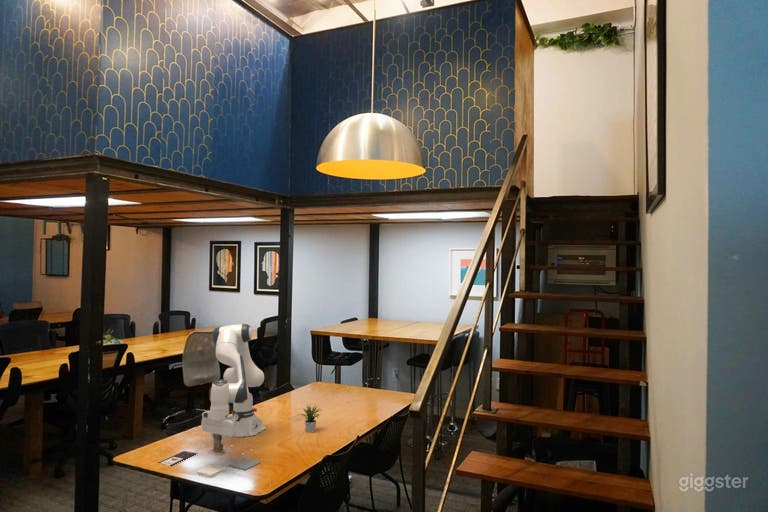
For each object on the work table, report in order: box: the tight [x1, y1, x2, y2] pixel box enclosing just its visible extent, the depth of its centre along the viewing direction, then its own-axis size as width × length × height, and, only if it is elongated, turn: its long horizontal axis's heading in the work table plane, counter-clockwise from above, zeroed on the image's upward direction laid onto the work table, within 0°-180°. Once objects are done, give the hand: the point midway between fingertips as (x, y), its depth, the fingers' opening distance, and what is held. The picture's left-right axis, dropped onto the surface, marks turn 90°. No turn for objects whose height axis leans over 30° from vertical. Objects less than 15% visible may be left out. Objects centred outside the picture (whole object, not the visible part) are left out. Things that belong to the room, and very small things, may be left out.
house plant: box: [300, 403, 323, 433], centre depth 298 cm, size 14×14×16 cm
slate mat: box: [228, 458, 261, 471], centre depth 244 cm, size 11×11×1 cm
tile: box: [196, 464, 227, 479], centre depth 234 cm, size 2×9×10 cm
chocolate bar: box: [157, 450, 199, 467], centre depth 251 cm, size 9×1×18 cm
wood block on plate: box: [207, 434, 230, 457], centre depth 238 cm, size 6×8×13 cm
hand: (218, 442), depth 238 cm, fingers closed on wood block on plate, 3 cm apart
